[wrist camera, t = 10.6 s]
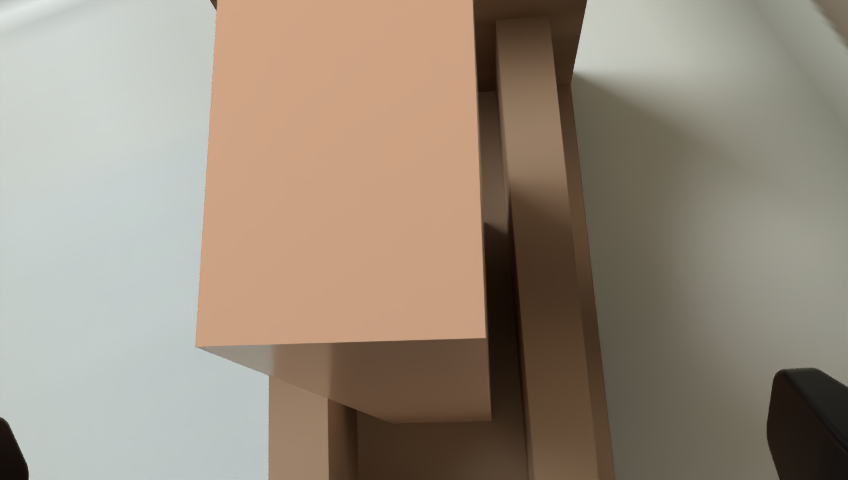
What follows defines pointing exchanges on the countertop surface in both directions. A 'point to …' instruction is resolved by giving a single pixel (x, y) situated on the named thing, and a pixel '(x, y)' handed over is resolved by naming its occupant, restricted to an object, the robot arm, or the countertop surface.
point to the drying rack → (497, 293)
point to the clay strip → (349, 204)
